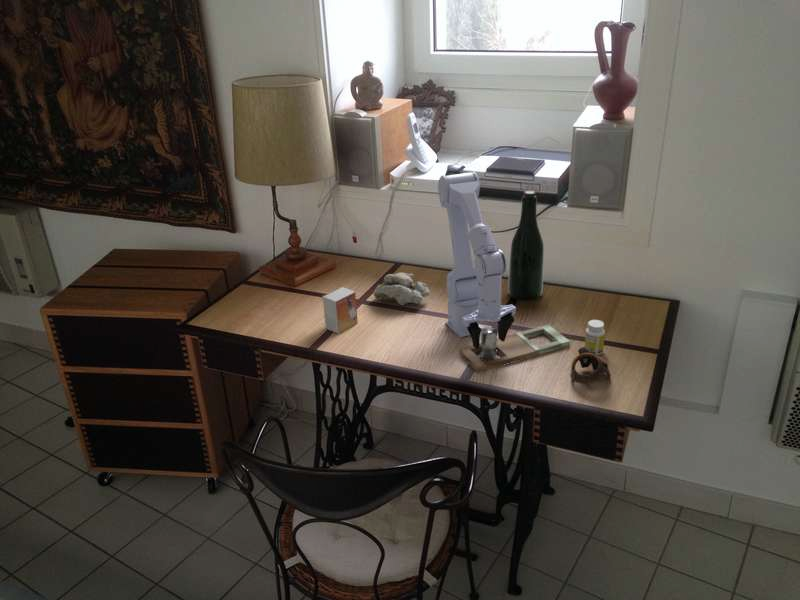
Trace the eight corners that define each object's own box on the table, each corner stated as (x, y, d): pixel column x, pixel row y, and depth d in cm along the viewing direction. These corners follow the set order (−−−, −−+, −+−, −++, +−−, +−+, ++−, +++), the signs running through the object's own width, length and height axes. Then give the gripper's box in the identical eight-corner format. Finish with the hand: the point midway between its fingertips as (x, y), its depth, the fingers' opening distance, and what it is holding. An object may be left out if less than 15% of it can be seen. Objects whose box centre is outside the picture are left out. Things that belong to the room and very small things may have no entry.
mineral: (424, 308, 200) (428, 274, 200) (368, 301, 203) (372, 267, 203) (431, 308, 212) (435, 276, 212) (377, 301, 215) (381, 270, 215)
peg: (478, 355, 180) (478, 329, 177) (491, 351, 182) (491, 326, 178) (485, 363, 177) (486, 336, 173) (498, 359, 178) (499, 332, 175)
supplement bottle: (599, 345, 182) (602, 318, 178) (605, 355, 178) (608, 327, 174) (581, 346, 182) (584, 319, 178) (586, 356, 178) (589, 328, 174)
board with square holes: (459, 353, 181) (459, 348, 181) (547, 329, 191) (548, 323, 190) (477, 372, 173) (477, 367, 172) (569, 345, 183) (569, 340, 182)
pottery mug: (619, 386, 166) (612, 369, 161) (584, 403, 168) (575, 386, 162) (598, 351, 175) (590, 333, 169) (565, 368, 176) (556, 350, 171)
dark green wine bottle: (526, 283, 216) (531, 183, 201) (549, 295, 208) (556, 192, 193) (500, 292, 212) (503, 190, 196) (523, 305, 204) (527, 200, 188)
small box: (338, 334, 193) (335, 302, 188) (325, 328, 197) (321, 296, 192) (358, 323, 198) (355, 291, 193) (345, 317, 202) (342, 286, 197)
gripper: (471, 310, 165) (471, 357, 171) (523, 296, 170) (521, 343, 176) (458, 298, 171) (458, 344, 177) (508, 285, 176) (506, 331, 182)
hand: (488, 343), depth 177 cm, fingers open, 7 cm apart
